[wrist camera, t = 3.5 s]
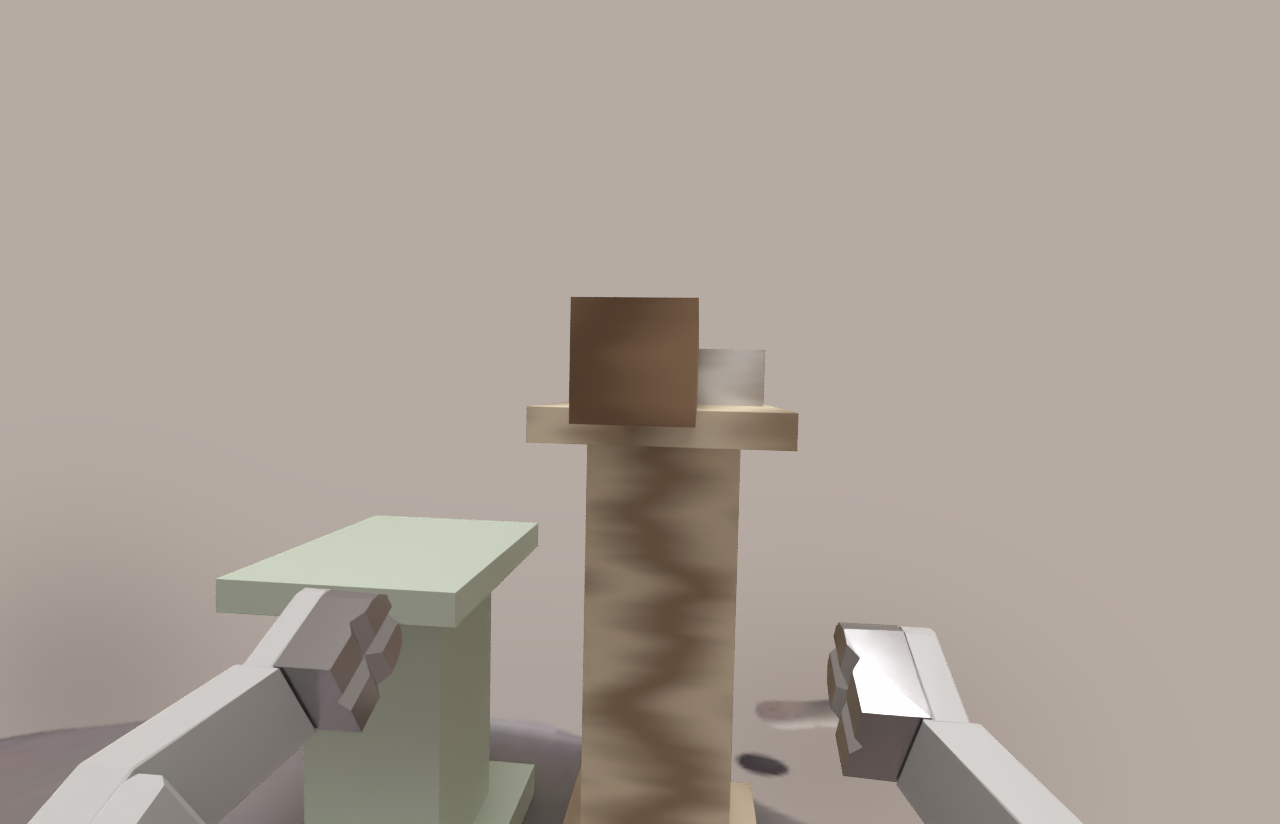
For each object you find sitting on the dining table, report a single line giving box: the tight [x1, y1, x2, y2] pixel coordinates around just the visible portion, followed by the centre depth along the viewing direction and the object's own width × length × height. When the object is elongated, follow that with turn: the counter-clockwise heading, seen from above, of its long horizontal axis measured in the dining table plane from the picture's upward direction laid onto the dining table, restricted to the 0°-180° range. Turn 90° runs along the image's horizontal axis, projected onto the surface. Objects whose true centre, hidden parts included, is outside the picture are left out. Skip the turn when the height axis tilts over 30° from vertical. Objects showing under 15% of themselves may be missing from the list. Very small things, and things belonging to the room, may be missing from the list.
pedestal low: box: [216, 516, 538, 824], centre depth 32 cm, size 11×13×18 cm
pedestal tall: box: [526, 402, 798, 824], centre depth 31 cm, size 11×13×26 cm
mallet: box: [569, 297, 765, 428], centre depth 25 cm, size 10×23×3 cm, turn 174°
